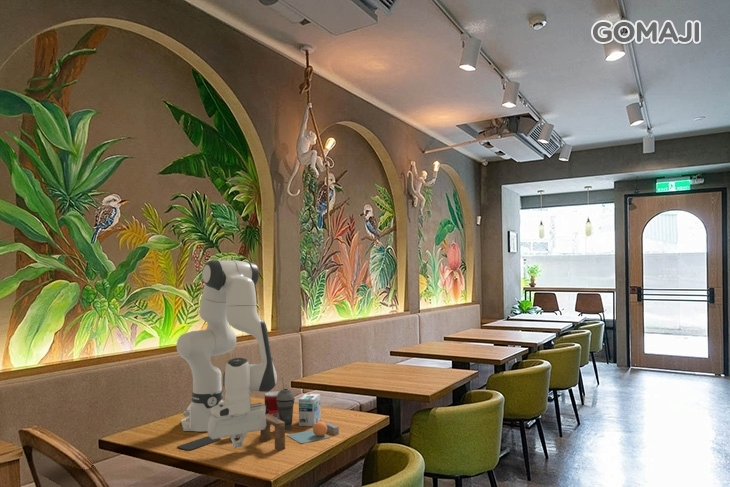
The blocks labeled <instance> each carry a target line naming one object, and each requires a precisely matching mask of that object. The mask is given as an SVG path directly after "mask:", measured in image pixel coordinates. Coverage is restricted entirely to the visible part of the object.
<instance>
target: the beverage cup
mask: <svg viewBox="0 0 730 487" xmlns="http://www.w3.org/2000/svg"><path fill="white" fill-rule="evenodd" d="M281 382H282V389H281V390H279V391H280V392H279V393H278V395H277V399H276V401H277V406H278V416H279V420H281V421H283V422H285V432H286V431H290V430H292V425H293V416H294V404H295V395H294V393H293V391H292V390H290V389H288V388H285V383H284V377H282V378H281Z"/></svg>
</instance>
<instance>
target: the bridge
mask: <svg viewBox="0 0 730 487" xmlns="http://www.w3.org/2000/svg"><path fill="white" fill-rule="evenodd" d="M265 417H266V427H265V429H264V430H259V431H260V441H262V442H267V441H270V440H271V425H272V426H273V427H274V450H275V451H282V450H285V449H286V431H285V422H283V421H281V420H279V419H277V418H275V417H273V416H271V415H270V414H265Z"/></svg>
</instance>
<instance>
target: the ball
mask: <svg viewBox="0 0 730 487" xmlns="http://www.w3.org/2000/svg"><path fill="white" fill-rule="evenodd" d="M325 423H326V422H324V421H321V420H320V421H319V422H317V423H315V424H314V426H312V430H313V432H314V434H315V435H316V436H318V437H321V436H324V435H327V433H328V432H327V425H326V424H325Z"/></svg>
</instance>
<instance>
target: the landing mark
mask: <svg viewBox="0 0 730 487" xmlns="http://www.w3.org/2000/svg"><path fill="white" fill-rule="evenodd" d="M286 437H288V438H289V439H291V440H294V441H296V442H297V443H298V444H300V445H303V444H307V443H311V442H316V441H317V442H318V441H321V440H326V439H330V438H331V436H329V435H327V434H325V435H324V436H321V437H318V436H316V435H315V434H314V432H313V429H310V430H305V431H300V432H295V433H291V434H287V435H286Z"/></svg>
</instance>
